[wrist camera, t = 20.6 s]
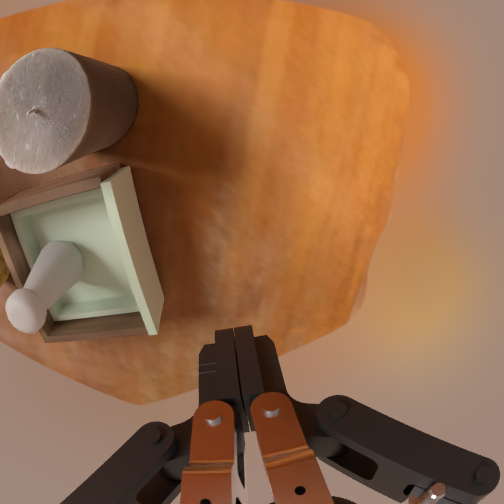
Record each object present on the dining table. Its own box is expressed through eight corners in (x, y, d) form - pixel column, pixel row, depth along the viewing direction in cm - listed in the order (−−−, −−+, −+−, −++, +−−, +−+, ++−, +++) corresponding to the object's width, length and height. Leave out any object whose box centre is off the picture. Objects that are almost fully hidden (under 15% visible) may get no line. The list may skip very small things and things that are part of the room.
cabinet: (17, 192, 32) (-13, 211, 25) (119, 162, 32) (99, 176, 26) (62, 311, 40) (45, 342, 33) (156, 299, 40) (149, 333, 34)
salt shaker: (91, 241, 34) (46, 305, 22) (86, 281, 36) (48, 351, 24) (49, 228, 32) (-7, 284, 21) (46, 268, 35) (-1, 332, 23)
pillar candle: (155, 86, 29) (112, 70, 16) (112, 164, 32) (51, 203, 19) (85, 52, 26) (12, 29, 13) (47, 128, 29) (-35, 150, 16)
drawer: (22, 195, 31) (-9, 216, 25) (129, 165, 32) (110, 181, 26) (66, 311, 39) (48, 344, 32) (164, 297, 40) (157, 334, 33)
